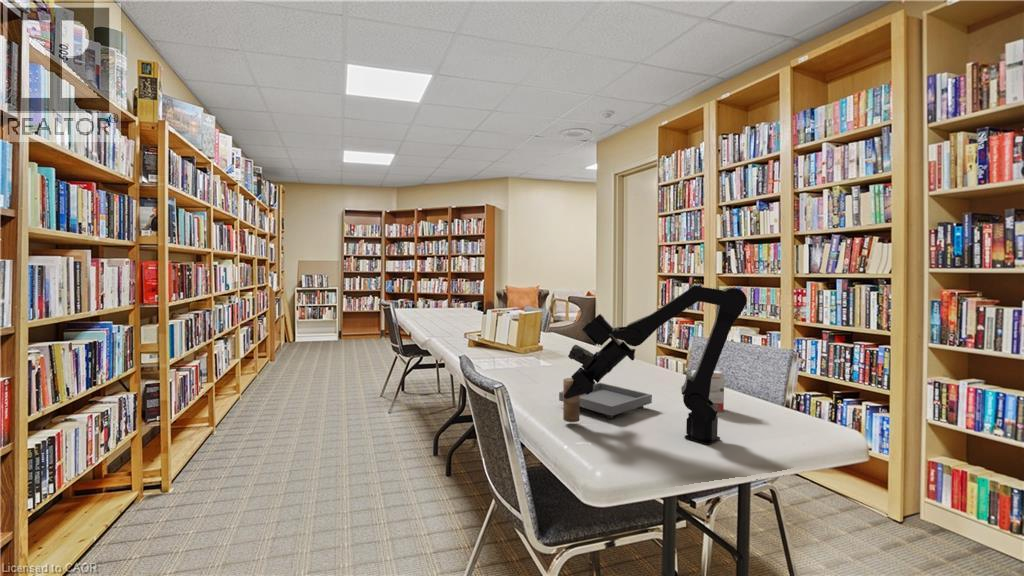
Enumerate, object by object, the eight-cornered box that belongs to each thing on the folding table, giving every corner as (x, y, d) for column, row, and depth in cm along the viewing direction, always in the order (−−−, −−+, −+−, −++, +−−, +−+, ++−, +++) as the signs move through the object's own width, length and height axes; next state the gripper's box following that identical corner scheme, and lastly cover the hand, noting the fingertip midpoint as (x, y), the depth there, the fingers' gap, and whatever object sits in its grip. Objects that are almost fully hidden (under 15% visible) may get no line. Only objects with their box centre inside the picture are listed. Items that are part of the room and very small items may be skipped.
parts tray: (651, 408, 148) (651, 394, 148) (611, 422, 135) (611, 406, 134) (599, 395, 163) (599, 382, 163) (559, 406, 150) (559, 392, 149)
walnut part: (582, 419, 132) (582, 380, 132) (572, 423, 129) (572, 382, 129) (570, 416, 136) (570, 377, 135) (560, 419, 133) (560, 379, 132)
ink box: (718, 407, 150) (719, 370, 150) (723, 412, 145) (725, 373, 145) (689, 406, 151) (690, 369, 150) (694, 411, 146) (695, 372, 146)
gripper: (592, 331, 139) (554, 366, 143) (580, 340, 121) (537, 380, 125) (619, 360, 137) (580, 395, 141) (611, 374, 119) (567, 413, 123)
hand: (566, 395), depth 133 cm, fingers closed on walnut part, 4 cm apart
